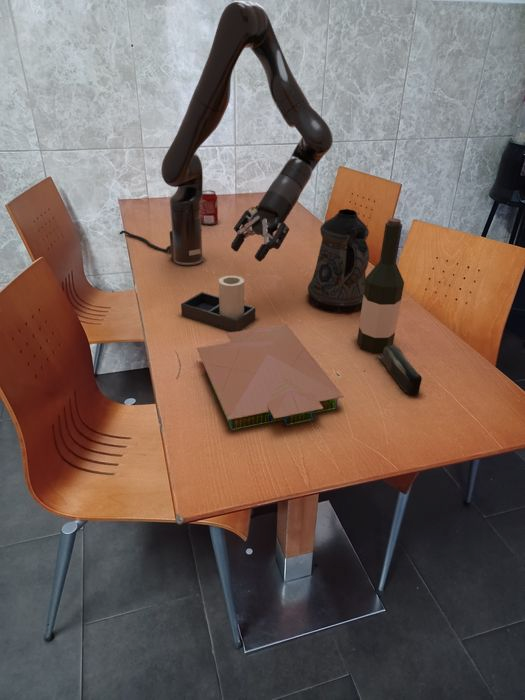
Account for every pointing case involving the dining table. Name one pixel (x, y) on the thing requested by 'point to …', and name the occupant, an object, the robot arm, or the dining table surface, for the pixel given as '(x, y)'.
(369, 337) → the wine bottle
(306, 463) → the dining table surface
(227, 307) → the jar
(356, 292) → the beer stein
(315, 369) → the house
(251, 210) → the plate of food
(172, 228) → the robot arm
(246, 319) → the tray
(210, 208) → the soda can
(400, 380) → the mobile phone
